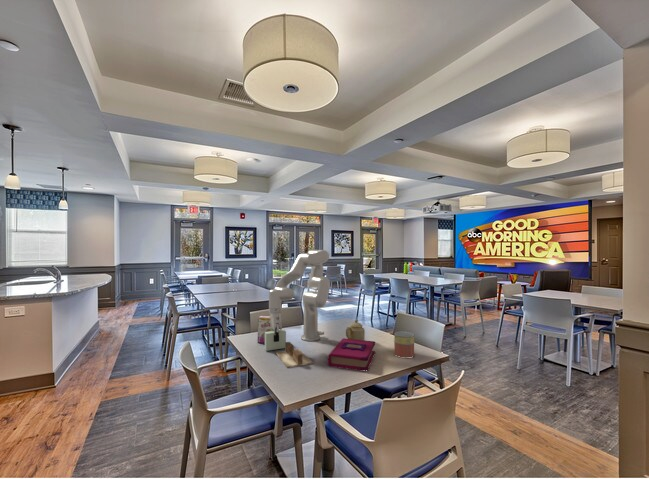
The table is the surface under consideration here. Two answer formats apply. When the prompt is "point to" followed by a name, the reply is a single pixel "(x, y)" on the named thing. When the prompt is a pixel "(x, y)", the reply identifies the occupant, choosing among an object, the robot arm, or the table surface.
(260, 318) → the candy bar box
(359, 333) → the sugar bowl
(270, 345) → the sage plate
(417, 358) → the table surface
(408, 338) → the canned food
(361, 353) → the book
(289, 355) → the slot board
